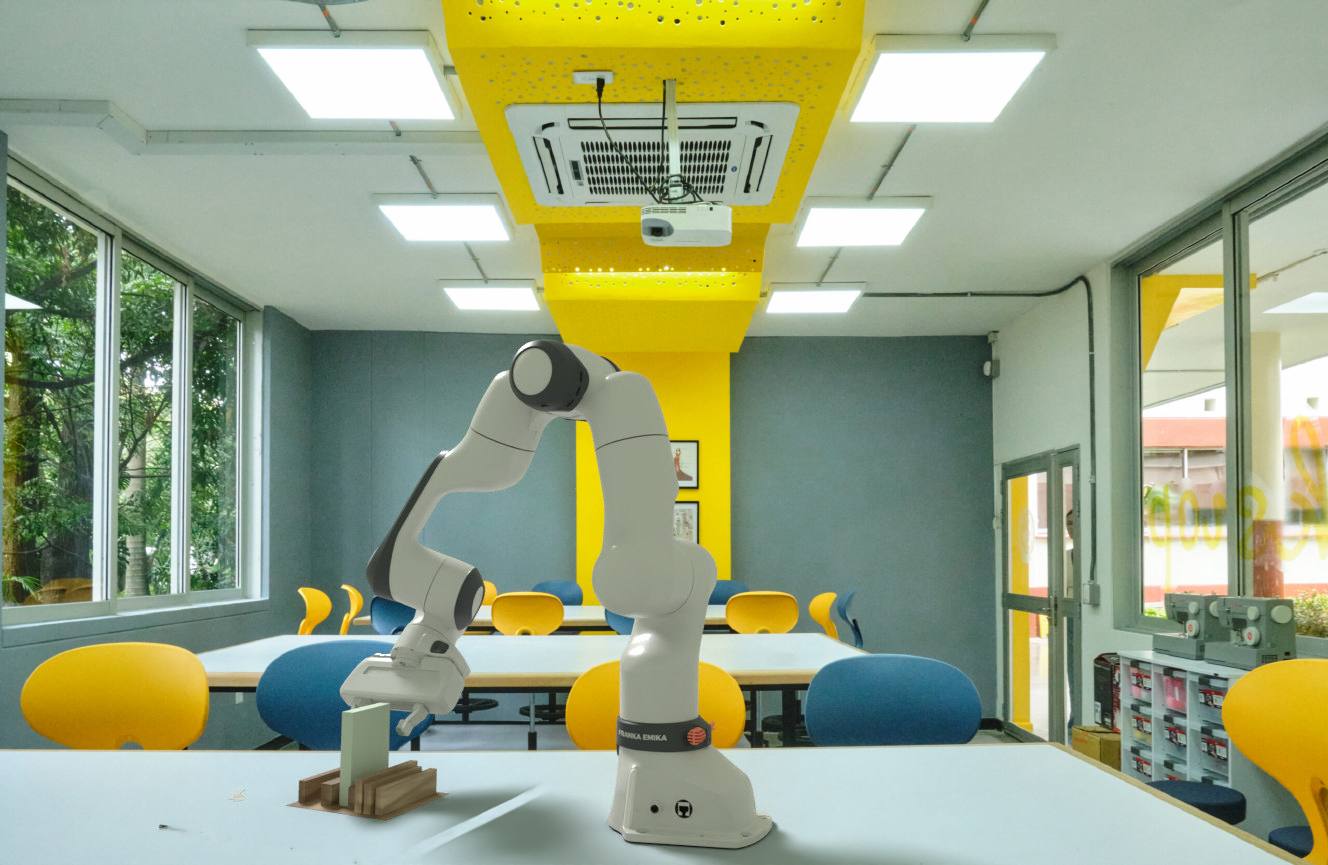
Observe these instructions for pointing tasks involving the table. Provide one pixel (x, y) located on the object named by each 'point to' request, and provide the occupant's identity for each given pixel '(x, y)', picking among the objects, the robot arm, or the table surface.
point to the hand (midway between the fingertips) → (376, 730)
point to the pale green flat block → (363, 744)
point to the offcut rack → (371, 791)
